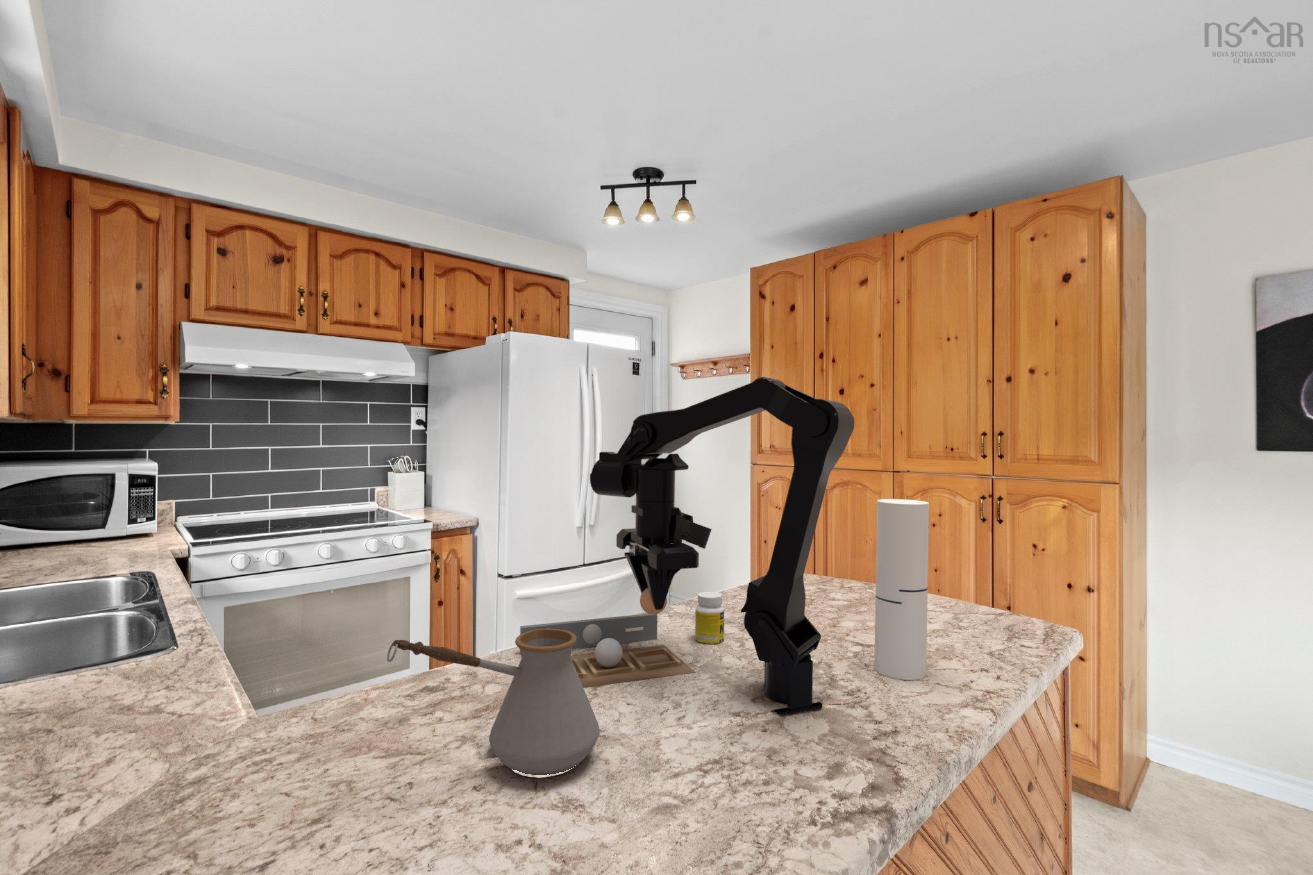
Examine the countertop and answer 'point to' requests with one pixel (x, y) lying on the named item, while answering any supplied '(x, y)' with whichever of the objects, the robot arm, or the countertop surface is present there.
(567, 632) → the coffee pot
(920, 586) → the cylindrical container
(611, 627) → the card
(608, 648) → the grey ball
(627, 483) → the robot arm
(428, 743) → the countertop surface
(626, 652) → the rack
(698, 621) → the supplement bottle
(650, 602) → the terracotta ball
